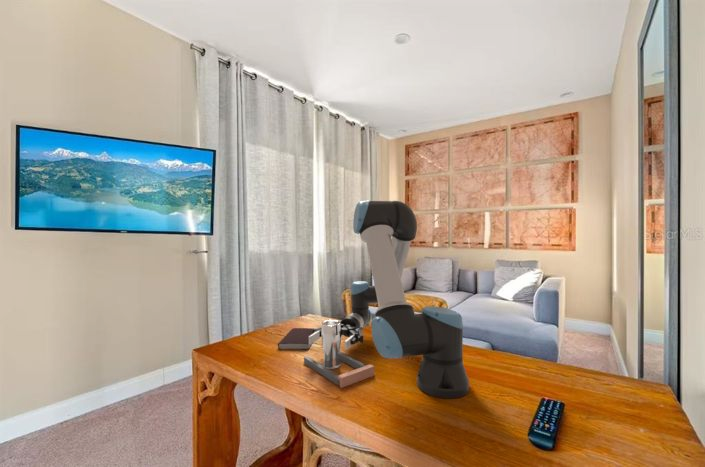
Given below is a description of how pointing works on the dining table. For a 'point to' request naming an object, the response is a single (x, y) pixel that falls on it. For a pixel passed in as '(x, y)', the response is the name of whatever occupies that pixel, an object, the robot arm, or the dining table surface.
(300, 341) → the book
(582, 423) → the dining table surface
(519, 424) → the dining table surface
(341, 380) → the guide channel
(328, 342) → the shiny metal tumbler
